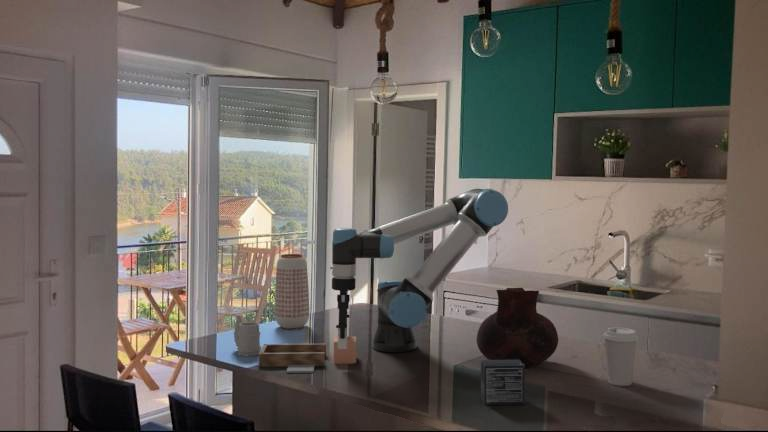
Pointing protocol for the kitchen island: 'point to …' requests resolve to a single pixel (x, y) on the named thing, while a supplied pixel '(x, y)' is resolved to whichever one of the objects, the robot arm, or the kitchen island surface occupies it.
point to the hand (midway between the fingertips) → (342, 343)
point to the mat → (300, 368)
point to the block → (345, 352)
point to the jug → (517, 330)
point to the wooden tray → (292, 354)
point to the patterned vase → (291, 292)
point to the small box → (502, 382)
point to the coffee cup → (620, 355)
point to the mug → (247, 337)
